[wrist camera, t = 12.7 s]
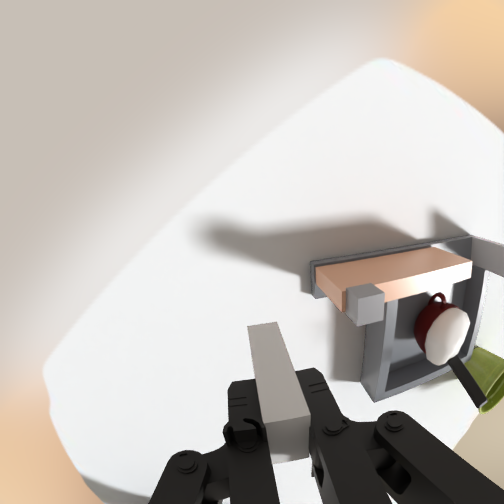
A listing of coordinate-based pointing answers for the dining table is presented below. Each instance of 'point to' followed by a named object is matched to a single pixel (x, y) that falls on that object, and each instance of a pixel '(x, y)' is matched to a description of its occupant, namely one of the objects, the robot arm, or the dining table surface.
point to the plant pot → (487, 376)
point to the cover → (388, 280)
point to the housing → (407, 310)
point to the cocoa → (446, 341)
